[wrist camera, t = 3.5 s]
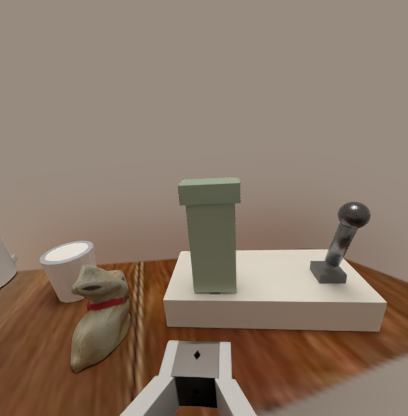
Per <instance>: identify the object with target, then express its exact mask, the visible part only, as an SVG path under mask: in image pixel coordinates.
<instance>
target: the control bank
mask: <svg viewBox="0 0 408 416" xmlns="http://www.w3.org/2000/svg"><path fill="white" fill-rule="evenodd" d="M328 250H329V249H327V250H326V249H325V250H250V251H236V286H237V292H194V287H193V277H192V266H191V256H190V251H181V253H180V256H179V258H178V261H177V264H176V267H175V269H174V272H173V275H172V278H171V280H170V283H169V286H168V288H167V291H166V294H165V297H164V299H163V302H164V308H165V315H166V321H167V327H205V328H247V329H288V330H330V331H372V332H379V331H380V327H381V323H382V320H383V316H384V312H385V308H386V304H387V302H386V301H385V300H384V299H383V298H382V297H381V296H380V295H379V294H378V293H377V292H376V291H375V290H374V289H373V288H372V287H371V286H370V285H369V284H368V283H367V282H366V281H365V280H364V279H363V278H362V277H361V276H360V275H359V274H358V273H357V272H356V271H355V270H354V269H353V268H352V267H351V266H350V265H349V264H348V263H347V262H346V261H345V260H344V259H342V261H341V263H340V265H339V266H338V267H336V268H331V267H329V266H327V265H326V263H325V257H326V255H327V252H328Z"/></svg>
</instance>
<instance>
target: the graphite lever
mask: <svg viewBox="0 0 408 416" xmlns="http://www.w3.org/2000/svg"><path fill="white" fill-rule="evenodd" d="M338 218H339V221H340V224H339V226H338V229H337V231H336V233H335V236H334V238H333V241H332V243H331V245H330V248H329V250H328V252H327V255H326V257H325V263H326V265H327V266H329V267H331V268H336V267H338V266H339V265H340V263H341V261H342V259H343V257H344V255H345V253H346V251H347V249H348V247H349V245H350V243H351V241H352V239H353V237H354V235H355V233H356V231H357V229H358V228H360V227H363V226H365V225H366V224H367V223H368V222H369V220H370V211H369V209H368V208H367V207H366V206H365V205H364V204H362V203H358V202H349V203H346V204H345V205H343V206H342V207H341V208H340V209H339V211H338Z"/></svg>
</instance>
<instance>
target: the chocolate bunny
mask: <svg viewBox="0 0 408 416" xmlns="http://www.w3.org/2000/svg"><path fill="white" fill-rule="evenodd" d="M71 291H72V293H73V294H74V295H80V296H83V297H85V298H87V299H88V300H89V301H88V304H87V309H88V311H87V313H86V314H85V315H84V316H83V318H82V319H81V320H80V322H79V323H78V325H77V327H76V329H75V331H74V334H73V337H72V345H71V367H72V369H73V370H74V372H75V373H77V372H79V371H81V370H82V369H84V368H86V367H88V366H91V365H93V364H96V363H98V362H100V361H102V360H103V359H105V358H106V357H107V355H108V354H109V353H111V352H112V351H113V350H114V348H116V347H117V346H119V343H120V342H121V341H122V340H123V338H124V337H125V336H126V334H127V332H128V328H129V326H130V318H131V316H130V314H129V313H128V312H129V308H130V304H129V301H130V300H131V296H130V295H127V294H128V285H127V282H126V279H125V276H124V274H123V272H122V271H120V270H114V271H105V270H103V269H101V268H99V267H96V266H93V265H87V264H85V265H82V267H81V270H80V274H79V278H78V279H77V281H76V282H75V283H74V285H73V286H72V290H71Z"/></svg>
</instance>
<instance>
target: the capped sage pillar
mask: <svg viewBox="0 0 408 416" xmlns="http://www.w3.org/2000/svg"><path fill="white" fill-rule="evenodd" d="M178 194H179V202H180V205H186V214H187V225H188V234H189V245H190V256H191V266H192V277H193V287H194V292H237V286H236V233H235V203H240V181H239V178H238V177H233V178H211V179H190V180H182V182H181V183H180V184H179V185H178Z"/></svg>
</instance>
